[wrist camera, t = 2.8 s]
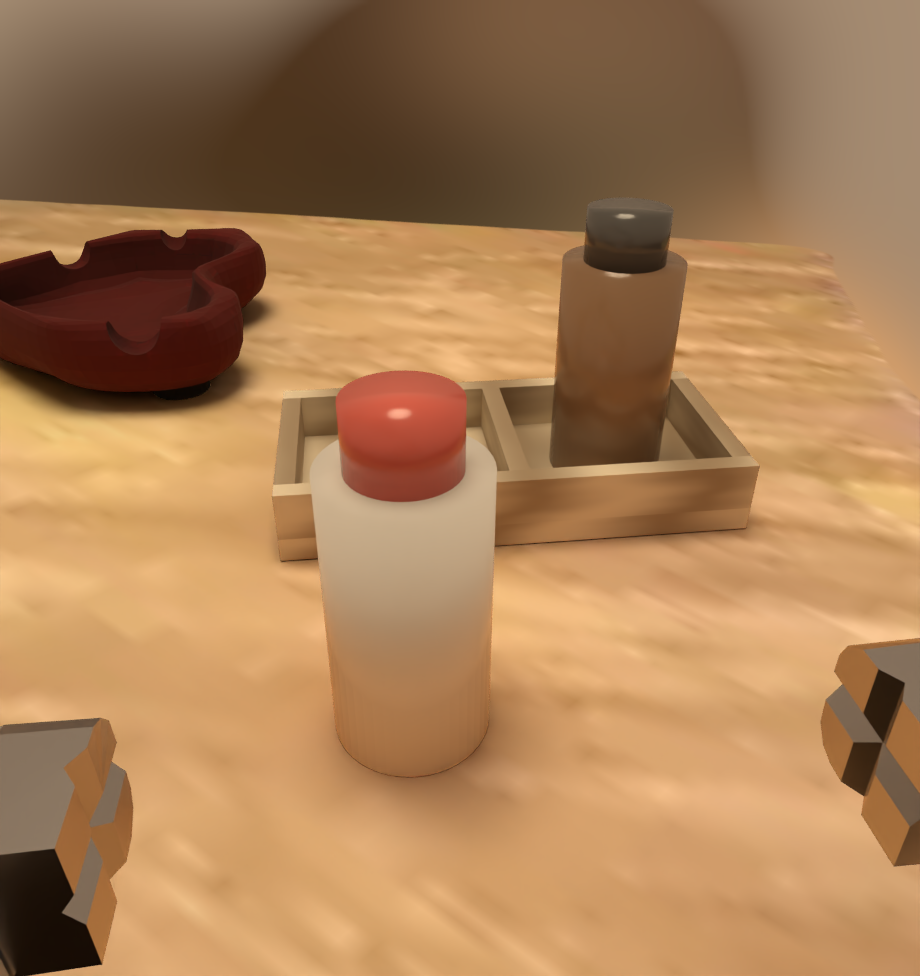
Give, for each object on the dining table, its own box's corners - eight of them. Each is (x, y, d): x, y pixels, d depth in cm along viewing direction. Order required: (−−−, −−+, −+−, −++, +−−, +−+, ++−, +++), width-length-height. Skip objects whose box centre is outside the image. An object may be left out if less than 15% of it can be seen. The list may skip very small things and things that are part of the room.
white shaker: (335, 784, 25) (298, 452, 19) (335, 666, 29) (304, 362, 23) (500, 768, 25) (515, 439, 19) (477, 654, 29) (483, 354, 23)
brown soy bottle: (562, 492, 36) (583, 227, 30) (539, 436, 40) (554, 194, 34) (672, 484, 37) (714, 223, 31) (639, 431, 41) (670, 191, 35)
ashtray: (34, 302, 58) (14, 228, 56) (276, 296, 60) (268, 224, 57) (-86, 426, 43) (-121, 332, 41) (242, 415, 44) (228, 323, 42)
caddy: (280, 560, 34) (271, 496, 32) (290, 447, 41) (283, 391, 39) (745, 528, 36) (759, 465, 34) (673, 426, 43) (682, 371, 42)
